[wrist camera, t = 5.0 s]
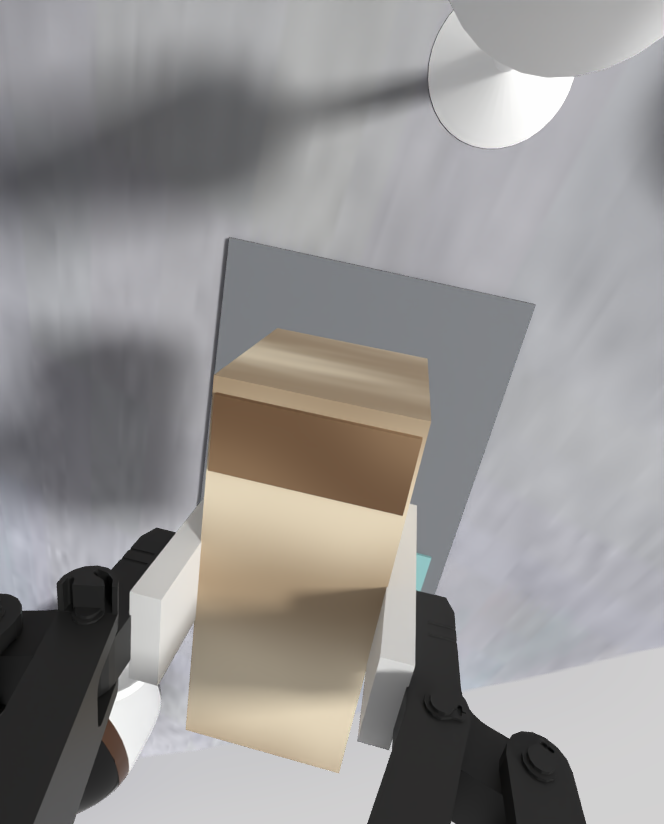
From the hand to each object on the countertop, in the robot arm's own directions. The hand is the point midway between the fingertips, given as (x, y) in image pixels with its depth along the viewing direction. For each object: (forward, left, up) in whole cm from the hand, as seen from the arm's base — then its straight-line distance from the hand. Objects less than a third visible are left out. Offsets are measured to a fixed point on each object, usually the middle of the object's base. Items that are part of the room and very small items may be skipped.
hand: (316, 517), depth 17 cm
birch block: (0, 0, -1) cm, 1 cm away
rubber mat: (0, -6, -14) cm, 15 cm away
